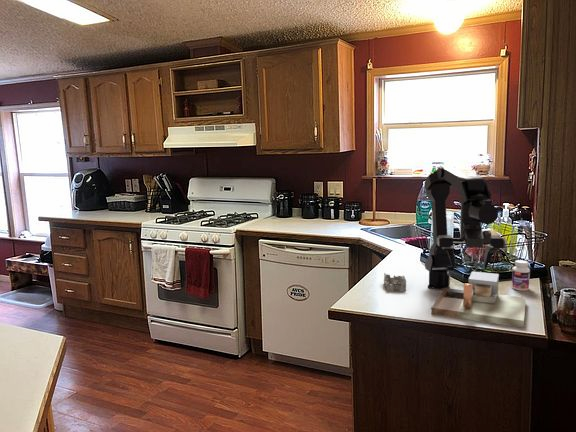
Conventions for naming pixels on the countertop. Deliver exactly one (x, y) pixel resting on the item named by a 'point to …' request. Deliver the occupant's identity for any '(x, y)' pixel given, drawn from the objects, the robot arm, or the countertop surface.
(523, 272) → the pill bottle
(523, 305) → the deck
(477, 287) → the maple block
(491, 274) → the tunnel
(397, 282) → the grey stone castle ruin
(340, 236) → the countertop surface
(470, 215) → the robot arm
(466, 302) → the sled
